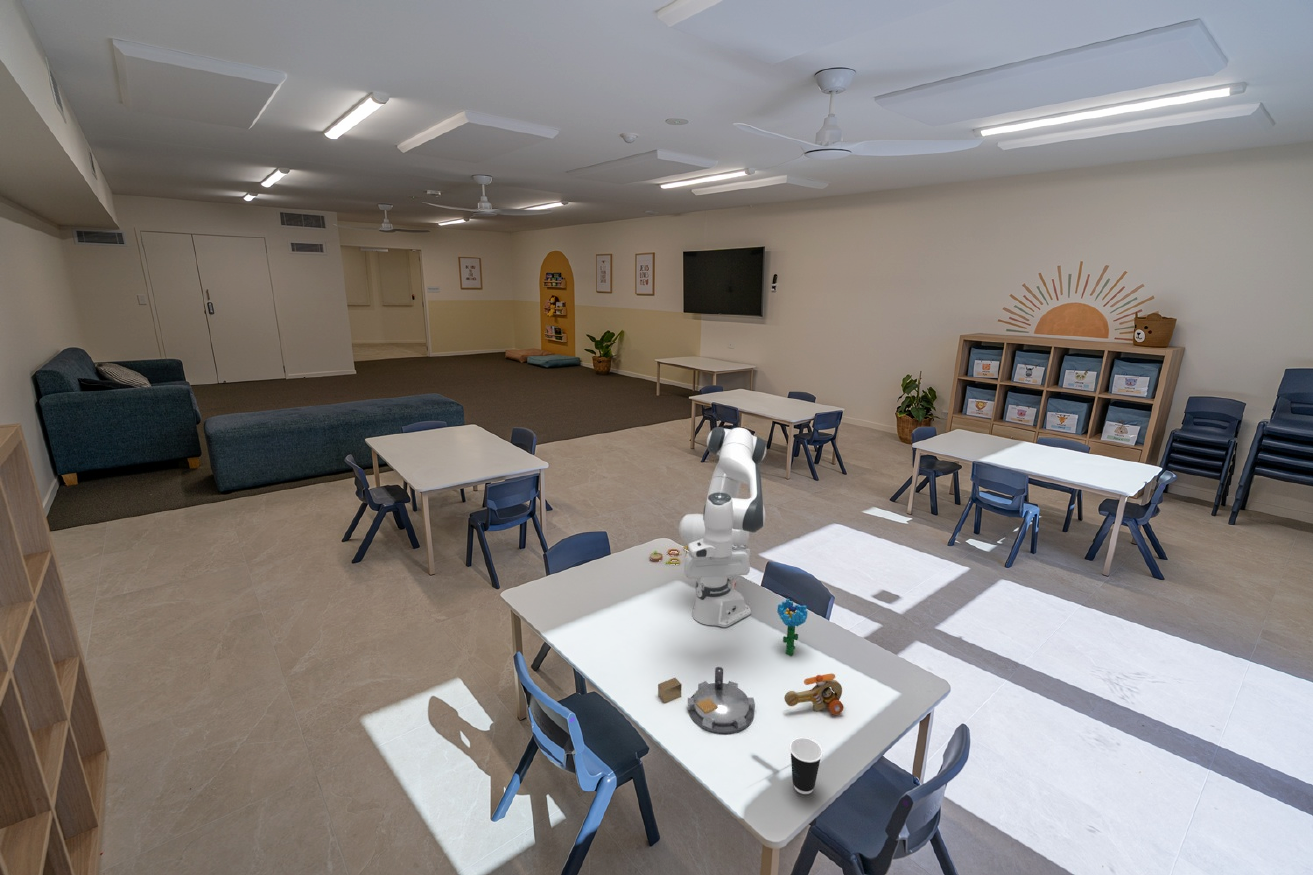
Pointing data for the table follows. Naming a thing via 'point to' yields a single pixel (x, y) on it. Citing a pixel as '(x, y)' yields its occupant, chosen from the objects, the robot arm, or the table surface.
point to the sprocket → (721, 703)
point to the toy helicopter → (819, 694)
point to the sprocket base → (721, 729)
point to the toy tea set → (658, 556)
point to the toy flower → (791, 621)
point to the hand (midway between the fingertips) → (716, 588)
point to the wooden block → (669, 690)
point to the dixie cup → (805, 763)
